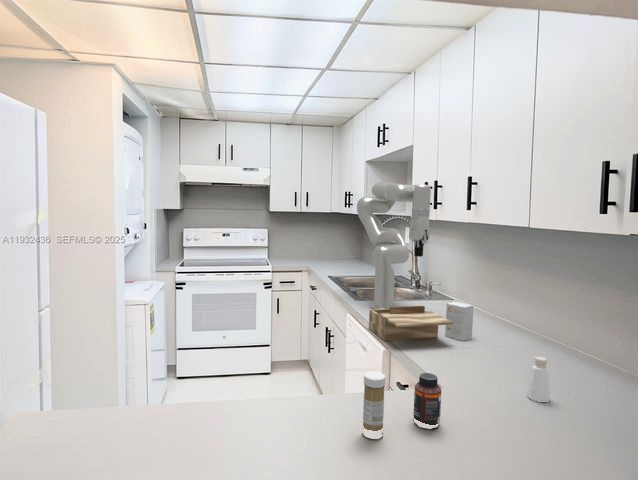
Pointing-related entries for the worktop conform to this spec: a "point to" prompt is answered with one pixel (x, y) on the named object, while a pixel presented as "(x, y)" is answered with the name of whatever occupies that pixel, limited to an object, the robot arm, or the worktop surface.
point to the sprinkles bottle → (373, 401)
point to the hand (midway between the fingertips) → (418, 256)
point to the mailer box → (398, 328)
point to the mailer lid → (413, 317)
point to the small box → (459, 321)
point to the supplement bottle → (427, 399)
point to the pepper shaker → (539, 381)
